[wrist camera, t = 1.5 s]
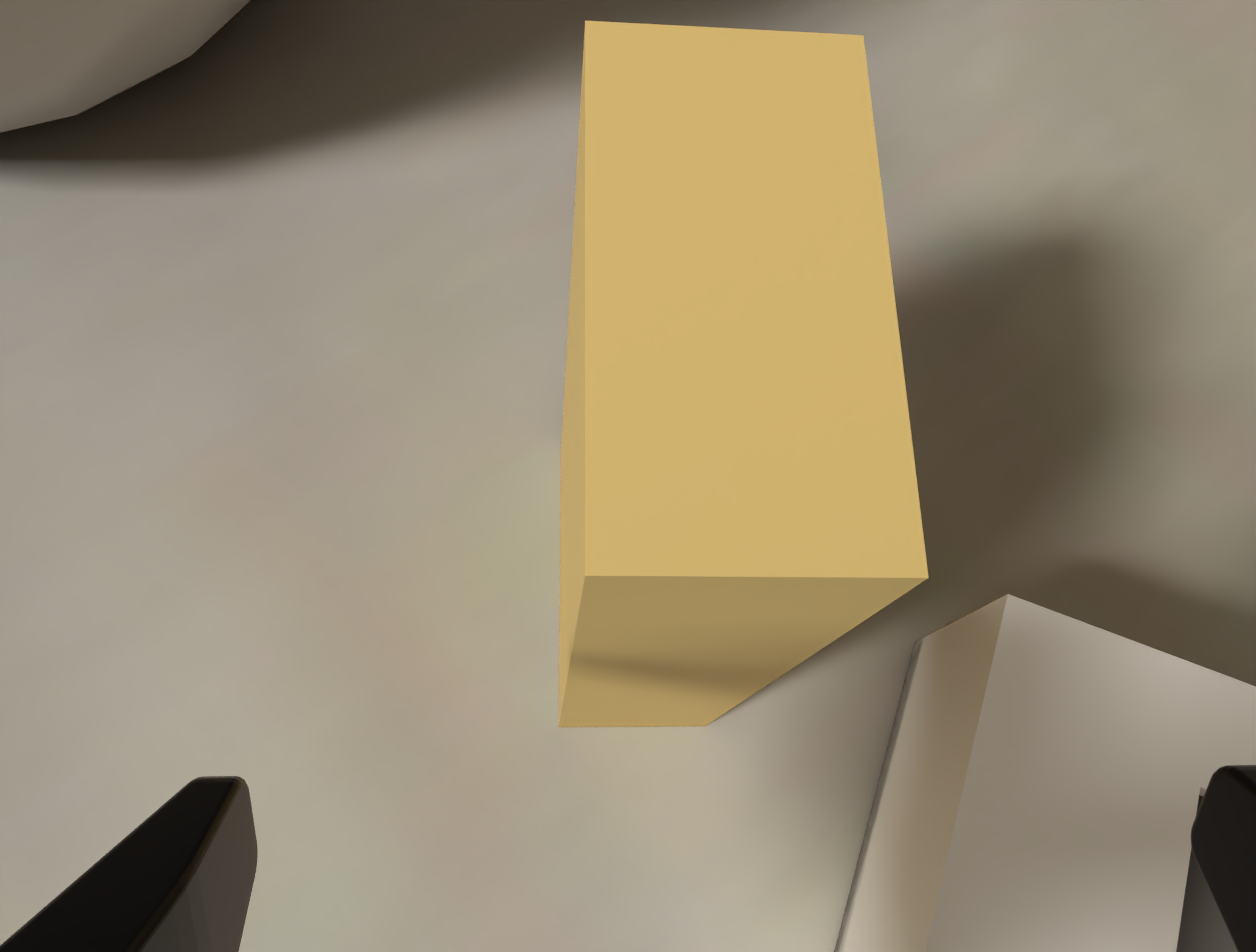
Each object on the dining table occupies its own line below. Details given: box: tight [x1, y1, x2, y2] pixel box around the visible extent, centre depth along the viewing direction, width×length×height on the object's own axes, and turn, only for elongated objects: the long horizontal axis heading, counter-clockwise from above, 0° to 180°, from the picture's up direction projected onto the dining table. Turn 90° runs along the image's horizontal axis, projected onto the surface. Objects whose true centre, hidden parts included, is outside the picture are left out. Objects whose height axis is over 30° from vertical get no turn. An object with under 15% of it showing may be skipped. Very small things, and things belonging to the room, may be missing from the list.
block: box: [559, 21, 929, 727], centre depth 15 cm, size 6×3×12 cm, turn 1°
